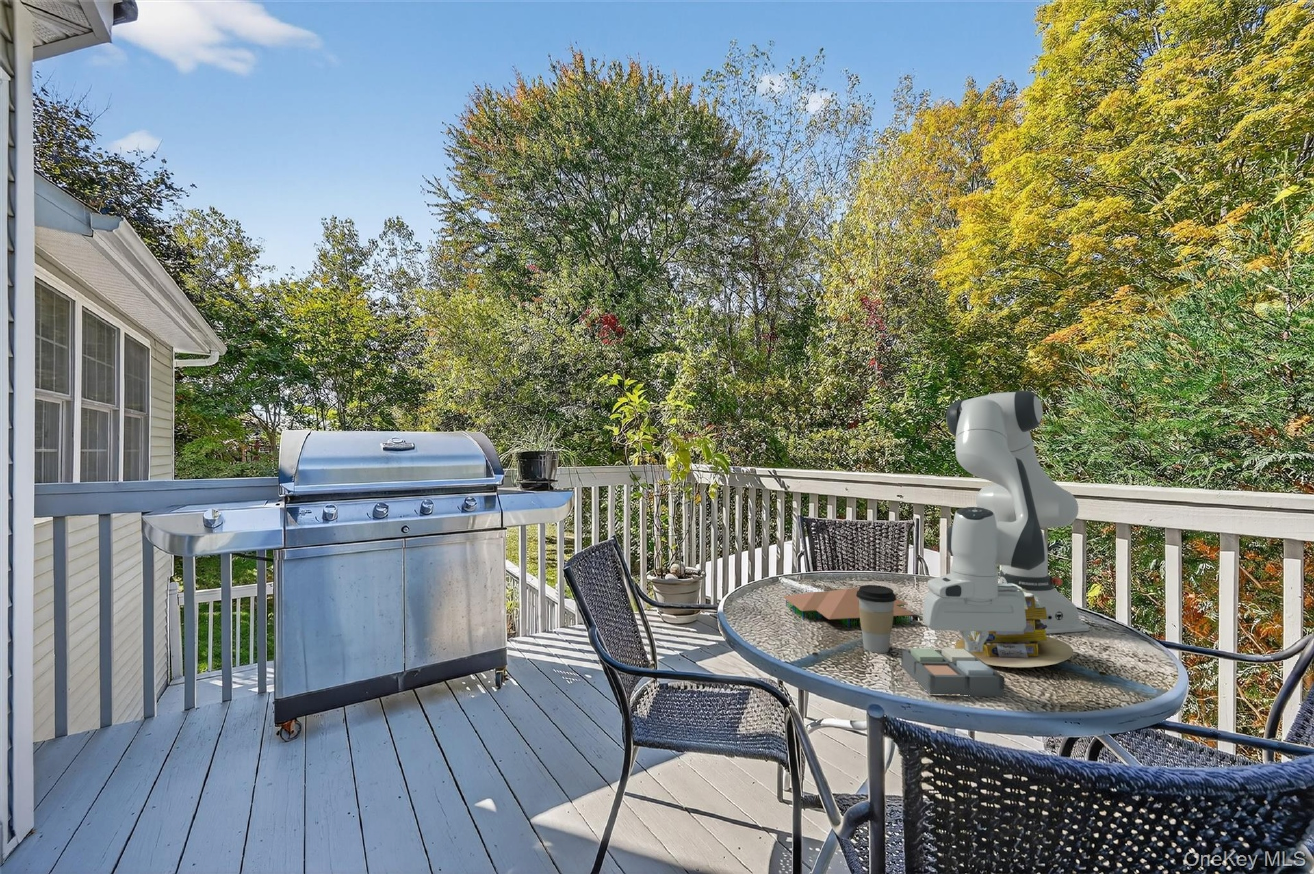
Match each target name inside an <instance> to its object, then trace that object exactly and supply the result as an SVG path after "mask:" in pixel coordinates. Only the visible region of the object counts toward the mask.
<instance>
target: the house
mask: <svg viewBox="0 0 1314 874" xmlns="http://www.w3.org/2000/svg"><path fill="white" fill-rule="evenodd" d="M858 590H859V588H858V587H855V588H852V587H851V588H844V589H843V588H842V589H836V590H829V591H828V590H827V591H825V590H824V591H812V592H806V593H805V592H804V593H798V594H792V595H790V594H789V595H784V596H783V595H782V598H783V599H785V607H786V608H788V609H789V610H791V611H792V613H794V614H795V615H799V614H801V619H802V620H803V621H804V620H805V619H804V617H805V612H809V614H810V618H811V620H813V619H812V617H813V616H816V620H819V619H820V620H822V618H823V619H825V618H826V619H828V620H838V621H840V622H841V623H842V624H843V625H845V626H847V627H848V628H850V623H851V624H853V625H854V626H853V627H854V628H855V623H856V621H855V619H860V612H859V606H860V605H859V598H858V597H857V596H856V594H857V591H858ZM904 606H909V604H908V603H907V602H905V601H903V600H901V599H898V598H897V597H896V600H895V601H894V607H893V609H894V613H893V617H897V616H898V617H897V624H900V623H899V621H900V617H901V618H902V621H903V623H904V624H906V623H907V624H908V622H909V624H910V623H911V622H912V618H911V617H912V616H916V614H914V612H910V611H909V610H907V609H906V608H903V607H904ZM812 613H813V614H812ZM850 619H854V621H850ZM905 620H906V621H905Z"/></svg>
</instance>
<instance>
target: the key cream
mask: <svg viewBox="0 0 1314 874" xmlns="http://www.w3.org/2000/svg"><path fill="white" fill-rule="evenodd" d="M941 650H942V655H943V656H945V657H946V658H947V659H948V660H950V661H951V662H957V661H975V657H974V656H973V655H971V654H970V653H969V652H967V651H966V650H965V649H955V648H941Z"/></svg>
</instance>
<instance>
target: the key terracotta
mask: <svg viewBox="0 0 1314 874" xmlns="http://www.w3.org/2000/svg"><path fill="white" fill-rule="evenodd" d="M924 667H925V668H926V669H927V670H929V671H930V672H931V673H932V674H933V675H958V674H957V673H955V672H954V671H953V670H952V669H951V668H949V667H948V666H934V665H924Z"/></svg>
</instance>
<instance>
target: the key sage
mask: <svg viewBox="0 0 1314 874" xmlns="http://www.w3.org/2000/svg"><path fill="white" fill-rule="evenodd" d="M910 649H911V655H912V656H913V657H914V658H916V659H917V660H918V661H935V662H943V657H942V656H941V655H940V654H939V653H937V652H936V651H935V650H936V649H934V648H923V647H922V648H919V647H918V648H910Z"/></svg>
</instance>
